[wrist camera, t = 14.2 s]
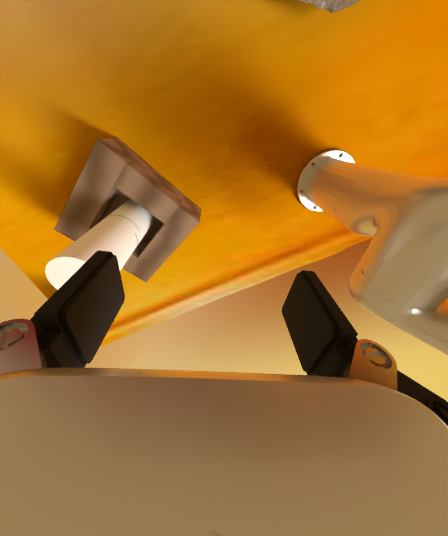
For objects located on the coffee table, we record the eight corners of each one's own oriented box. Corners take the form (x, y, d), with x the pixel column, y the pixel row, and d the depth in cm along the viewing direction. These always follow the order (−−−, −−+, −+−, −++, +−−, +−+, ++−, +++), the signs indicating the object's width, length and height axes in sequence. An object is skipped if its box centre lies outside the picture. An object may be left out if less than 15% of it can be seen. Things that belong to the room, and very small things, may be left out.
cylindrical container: (127, 227, 47) (60, 300, 27) (119, 197, 43) (33, 256, 23) (157, 228, 48) (113, 300, 27) (152, 198, 44) (96, 257, 23)
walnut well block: (201, 209, 47) (199, 222, 40) (154, 264, 55) (146, 282, 48) (117, 137, 38) (97, 139, 31) (76, 215, 46) (54, 229, 40)
